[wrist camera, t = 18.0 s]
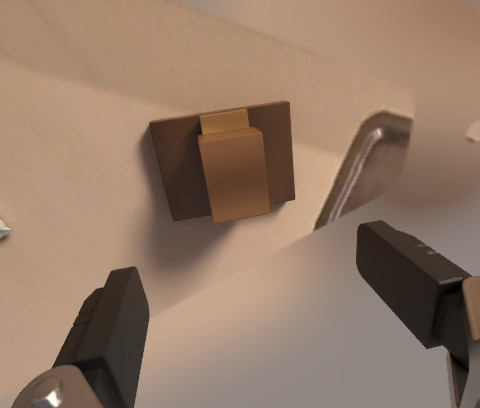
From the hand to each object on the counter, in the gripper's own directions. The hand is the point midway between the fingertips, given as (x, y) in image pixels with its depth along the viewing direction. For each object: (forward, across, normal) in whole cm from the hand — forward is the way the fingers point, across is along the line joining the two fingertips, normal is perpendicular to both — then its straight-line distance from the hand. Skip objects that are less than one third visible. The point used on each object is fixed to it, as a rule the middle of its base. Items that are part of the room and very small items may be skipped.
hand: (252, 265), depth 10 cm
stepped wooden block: (+19, -1, +1) cm, 19 cm away
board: (+21, -1, +1) cm, 21 cm away
